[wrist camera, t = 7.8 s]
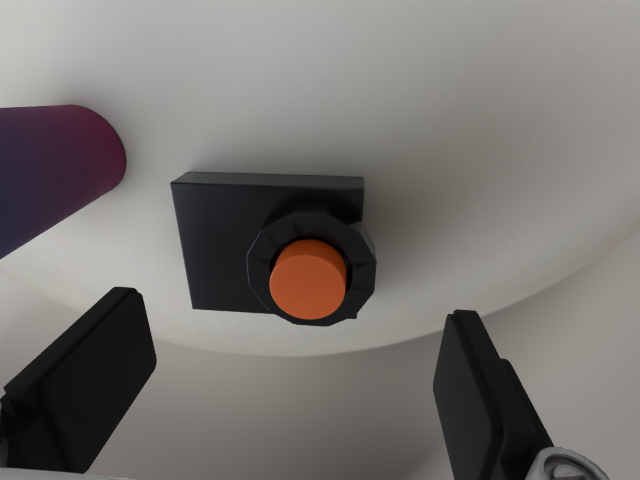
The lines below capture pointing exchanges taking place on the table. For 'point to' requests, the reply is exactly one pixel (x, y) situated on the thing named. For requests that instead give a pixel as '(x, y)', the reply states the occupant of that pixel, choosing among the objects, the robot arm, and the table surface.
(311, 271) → the button
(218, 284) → the button box
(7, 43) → the table surface
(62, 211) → the cup
